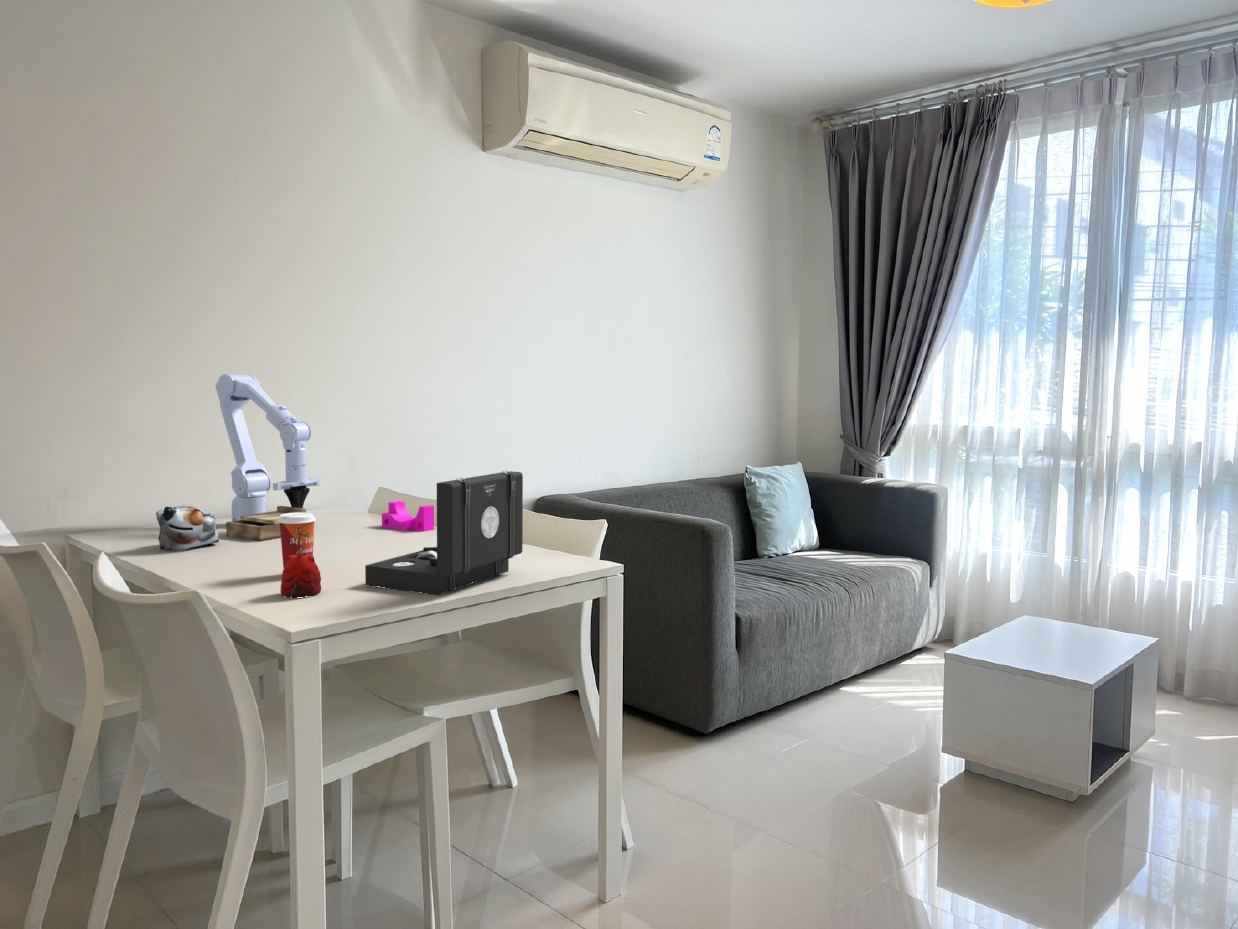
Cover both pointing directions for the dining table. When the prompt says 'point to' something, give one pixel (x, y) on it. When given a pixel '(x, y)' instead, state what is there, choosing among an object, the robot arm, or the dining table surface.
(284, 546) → the paper cup
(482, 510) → the watch box
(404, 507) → the toy block
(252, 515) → the lid
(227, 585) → the dining table surface
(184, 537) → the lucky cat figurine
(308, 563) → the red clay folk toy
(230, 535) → the walnut box
